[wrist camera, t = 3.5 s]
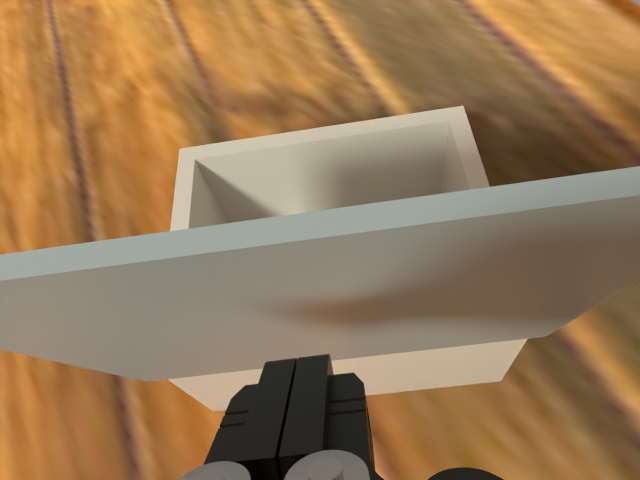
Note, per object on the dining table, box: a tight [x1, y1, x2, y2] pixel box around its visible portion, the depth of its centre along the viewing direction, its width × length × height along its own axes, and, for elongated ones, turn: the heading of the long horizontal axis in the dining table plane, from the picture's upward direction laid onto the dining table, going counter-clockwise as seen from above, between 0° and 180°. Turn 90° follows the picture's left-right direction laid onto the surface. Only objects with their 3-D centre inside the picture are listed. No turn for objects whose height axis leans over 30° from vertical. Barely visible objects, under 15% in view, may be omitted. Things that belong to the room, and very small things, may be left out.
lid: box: [0, 166, 640, 382], centre depth 17 cm, size 21×16×1 cm
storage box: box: [168, 106, 527, 412], centre depth 34 cm, size 20×16×10 cm
